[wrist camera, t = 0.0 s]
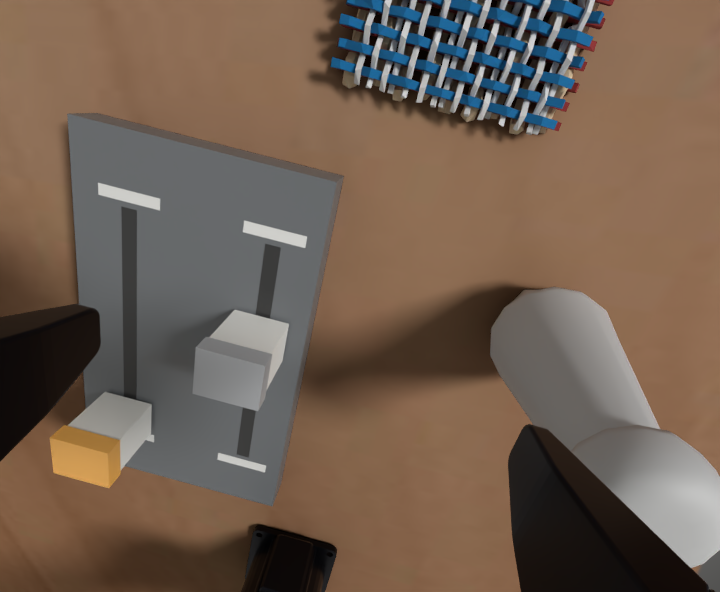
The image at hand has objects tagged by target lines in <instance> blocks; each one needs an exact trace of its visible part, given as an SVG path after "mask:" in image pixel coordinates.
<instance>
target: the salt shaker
mask: <svg viewBox="0 0 720 592" xmlns="http://www.w3.org/2000/svg"><path fill="white" fill-rule="evenodd" d="M490 356H491V358H492V360H493V362H494V364H495V366H496V368H497V370H498V372H499V375H500V376H501V378H502V379H503V381H504V382H505V384H506V385H507V387H508V388H509V389H510V391H511V392H512V394H513V395H514V397H515V398H516V400H517V401H518V403H519V404H520V406H521V407H522V409H523V410H524V411H525V413H526V414H527V416H528V417H529V419H530V420H531V422H532V423H533V425H535V426H539V427H542V428H546V429H548V430H549V431H550V432H551V433H552V434H553V435H554V436H555V437H556V438H557V439H558V440H559V441H561V442H562V443H563V444H564V445H565V446H566V447H567V448H568V449H569V450H570V451H571V452H572V453H573V454H574V455H575V456H576V457H577V458H578V459H579V460H580V461H581V462H582V463H583V464H584V465H585V466H586V467H587V468H588V469H589V470H590V471H591V472H592V473H593V474H594V475H596V476H597V477H598V478H599V479H600V480H601V481H602V482H603V483H604V484H605V485H606V486H607V487H608V488H609V489H610V490H611V491H612V492H613V493H614V494H615V495H616V496H617V497H618V498H619V499H620V500H621V501H622V502H623V503H624V504H625V505H626V506H627V507H629V508H630V509H631V510H632V511H633V512H634V513H635V514H636V515H637V516H638V517H639V518H640V519H641V520H642V521H643V522H644V523H645V524H646V525H647V526H648V527H649V528H650V529H651V530H652V531H653V532H654V533H655V534H656V535H657V536H658V537H659V538H660V539H661V540H663V541H664V542H665V543H666V544H667V545H668V546H669V547H670V548H671V549H672V550H673V551H674V552H675V553H676V554H677V555H678V556H679V557H680V558H681V559H682V560H683V561H684V562H685V563H686V564H687V565H688V566H689V567H690V568H692V567H695V566H698V565H701V564H703V563H705V562H706V561H707V560H708V559H709V558H710V557H712V556H713V555H714V554H715V553H716V552H718V551H719V550H720V477H719V475H718V473H717V471H716V470H715V469H714V468H713V466H712V465H711V464H710V463H709V462H708V461H707V460H706V459H705V458H704V456H703V455H702V454H701V453H699V452H698V451H697V450H695V449H694V448H693V447H691V446H690V445H689V444H687V443H686V442H685V441H683V440H682V439H681V438H679V437H678V436H676V435H675V434H673V433H671V432H670V431H667V430H662V429H660V428H659V426H658V423H657V421H656V419H655V417H654V415H653V413H652V411H651V408H650V406H649V404H648V402H647V400H646V398H645V395H644V393H643V391H642V389H641V387H640V385H639V383H638V380H637V378H636V376H635V374H634V372H633V370H632V367H631V365H630V363H629V361H628V359H627V357H626V355H625V352H624V350H623V348H622V346H621V344H620V342H619V339H618V337H617V335H616V332H615V330H614V327H613V325H612V323H611V320H610V318H609V316H608V313H607V311H606V310H605V309H604V308H602V307H601V306H600V305H598V304H597V303H596V302H594V301H593V300H592V299H590V298H589V297H588V296H586V295H585V294H584V293H582V292H580V291H574V290H569V289H564V288H559V287H550V288H545V289H540V290H523V291H522V292H521V293H520V294H519V295H518V296H517V297H516V298H515V299H514V300H513V301H512V302H511V303H510V304H508V305H507V306H506V307H504V309H503V310H502V312H501V313H500V315H499V317H498V318H497V320H496V321H495V323H494V324H493V326H492V328H491V347H490Z"/></svg>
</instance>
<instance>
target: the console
mask: <svg viewBox="0 0 720 592" xmlns="http://www.w3.org/2000/svg"><path fill="white" fill-rule="evenodd" d="M67 115H68V131H69V147H70V163H71V179H72V196H73V212H74V228H75V244H76V260H77V276H78V293H79V304H80V305H84V306H88V307H91V308H95V309H96V310H97V311H98V312H99V314H100V331H101V345H100V349H99V351H98V353H97V354H96V356H95V357H94V358H93V359H92V361H91V362H90V363H89V364H88V366H87V367H86V368H85V369H84V370H83V373H84V390H85V406H86V408H87V407H89V406H90V405H91V404H92V403H93V402H94V401H95V400H96V399H97V398H99V397H100V396H101V395H102V394H103V393H104V392H108V393H112V394H116V395H119V396H123V397H127V398H130V399H134V400H138V401H141V402H145V403H149V404H152V411H151V434H150V435H149V437H148V438H147V439H146V440H145V441H144V443H143V444H142V445H141V446H140V447H139V449H138V450H137V451H136V452H135V454H134V455H133V456H132V457H131V458H130V460H129V461H128V462H127V463H126V464H125V466H127V467H130V468H134V469H138V470H141V471H145V472H149V473H152V474H156V475H160V476H163V477H167V478H171V479H174V480H178V481H182V482H185V483H189V484H193V485H196V486H200V487H203V488H207V489H211V490H214V491H218V492H222V493H225V494H229V495H233V496H236V497H240V498H244V499H247V500H251V501H255V502H258V503H262V504H266V505H269V506H273V503H274V501H275V498H276V495H277V493H278V490H279V487H280V484H281V481H282V476H283V471H284V466H285V461H286V456H287V452H288V447H289V442H290V437H291V432H292V427H293V422H294V417H295V412H296V408H297V403H298V398H299V393H300V388H301V383H302V378H303V373H304V368H305V363H306V359H307V354H308V349H309V344H310V339H311V334H312V329H313V324H314V319H315V314H316V310H317V305H318V300H319V295H320V290H321V285H322V280H323V275H324V270H325V266H326V261H327V256H328V251H329V246H330V241H331V236H332V231H333V226H334V221H335V217H336V212H337V207H338V202H339V197H340V192H341V187H342V182H343V177H344V176H342V175H338V174H334V173H330V172H326V171H322V170H318V169H315V168H311V167H307V166H303V165H299V164H295V163H291V162H287V161H283V160H279V159H275V158H271V157H267V156H263V155H259V154H256V153H252V152H248V151H244V150H240V149H236V148H232V147H228V146H224V145H220V144H216V143H212V142H208V141H204V140H200V139H197V138H193V137H189V136H185V135H181V134H177V133H173V132H169V131H165V130H161V129H157V128H153V127H149V126H145V125H141V124H137V123H134V122H130V121H126V120H122V119H118V118H114V117H110V116H106V115H102V114H98V113H74V114H67ZM234 310H238V311H242V312H246V313H250V314H254V315H257V316H261V317H265V318H269V319H273V320H276V321H280V322H284V323H288V324H289V327H288V333H287V338H286V344H285V350H284V355H283V361H282V363H281V365H280V366H279V368H278V370H277V372H276V374H275V376H274V377H273V379H272V381H271V383H270V385H269V387H268V389H267V390H266V396H265V399H264V401H263V403H262V405H261V407H260V409H259V411H255V410H251V409H248V408H244V407H240V406H236V405H233V404H229V403H225V402H221V401H218V400H214V399H210V398H207V397H203V396H199V395H195V394H192V393H193V379H194V365H195V351H196V347H197V346H198V345H199V344H200V342H201V341H202V340H203V339H204V338H205V337H210V336H211V335H212V334H213V333H214V332H215V331H216V330H217V328H218V327H219V326H220V325H221V324H222V323H223V322H224V321H225V320H226V319H227V318H228V316H229V315H230V314H231V313H232V312H233V311H234Z"/></svg>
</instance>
